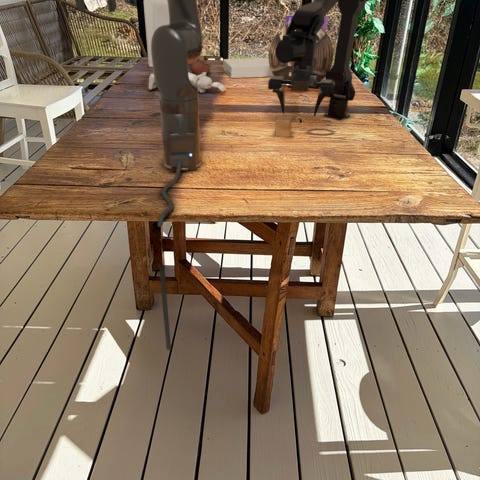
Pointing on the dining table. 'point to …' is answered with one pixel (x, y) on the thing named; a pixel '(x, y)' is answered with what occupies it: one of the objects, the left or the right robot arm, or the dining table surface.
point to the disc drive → (247, 67)
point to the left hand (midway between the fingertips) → (97, 11)
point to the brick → (283, 126)
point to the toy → (200, 80)
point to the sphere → (321, 58)
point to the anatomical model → (200, 66)
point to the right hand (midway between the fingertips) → (298, 114)
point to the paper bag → (154, 20)
